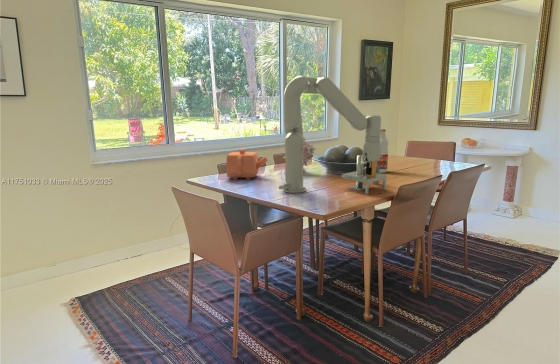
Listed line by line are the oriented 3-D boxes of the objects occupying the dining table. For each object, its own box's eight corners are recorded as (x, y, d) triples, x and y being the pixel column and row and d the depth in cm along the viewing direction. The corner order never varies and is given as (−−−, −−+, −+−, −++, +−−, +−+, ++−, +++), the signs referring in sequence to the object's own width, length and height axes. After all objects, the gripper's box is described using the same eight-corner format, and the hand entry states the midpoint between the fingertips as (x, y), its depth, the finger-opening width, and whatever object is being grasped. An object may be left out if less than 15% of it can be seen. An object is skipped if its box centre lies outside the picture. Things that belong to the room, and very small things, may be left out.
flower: (271, 170, 251) (279, 139, 237) (293, 162, 265) (302, 132, 251) (291, 186, 241) (301, 155, 227) (313, 177, 255) (324, 147, 241)
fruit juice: (387, 170, 252) (389, 128, 246) (386, 173, 243) (388, 130, 237) (373, 169, 255) (375, 128, 249) (371, 172, 247) (373, 129, 240)
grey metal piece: (367, 194, 192) (368, 159, 188) (341, 188, 205) (342, 156, 201) (385, 189, 202) (387, 156, 198) (360, 183, 215) (361, 153, 211)
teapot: (270, 173, 247) (269, 147, 243) (265, 181, 225) (265, 152, 221) (233, 173, 249) (232, 147, 245) (225, 181, 227) (223, 152, 223)
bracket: (363, 187, 206) (364, 169, 204) (359, 187, 208) (360, 168, 206) (378, 183, 215) (379, 166, 212) (375, 183, 217) (376, 165, 214)
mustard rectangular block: (366, 178, 199) (367, 156, 196) (370, 177, 201) (371, 155, 198) (371, 179, 196) (372, 157, 194) (375, 178, 198) (376, 156, 196)
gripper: (376, 137, 202) (374, 170, 206) (356, 140, 192) (355, 175, 196) (388, 138, 196) (386, 172, 200) (368, 141, 186) (366, 177, 190)
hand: (371, 173), depth 198 cm, fingers closed on mustard rectangular block, 3 cm apart
